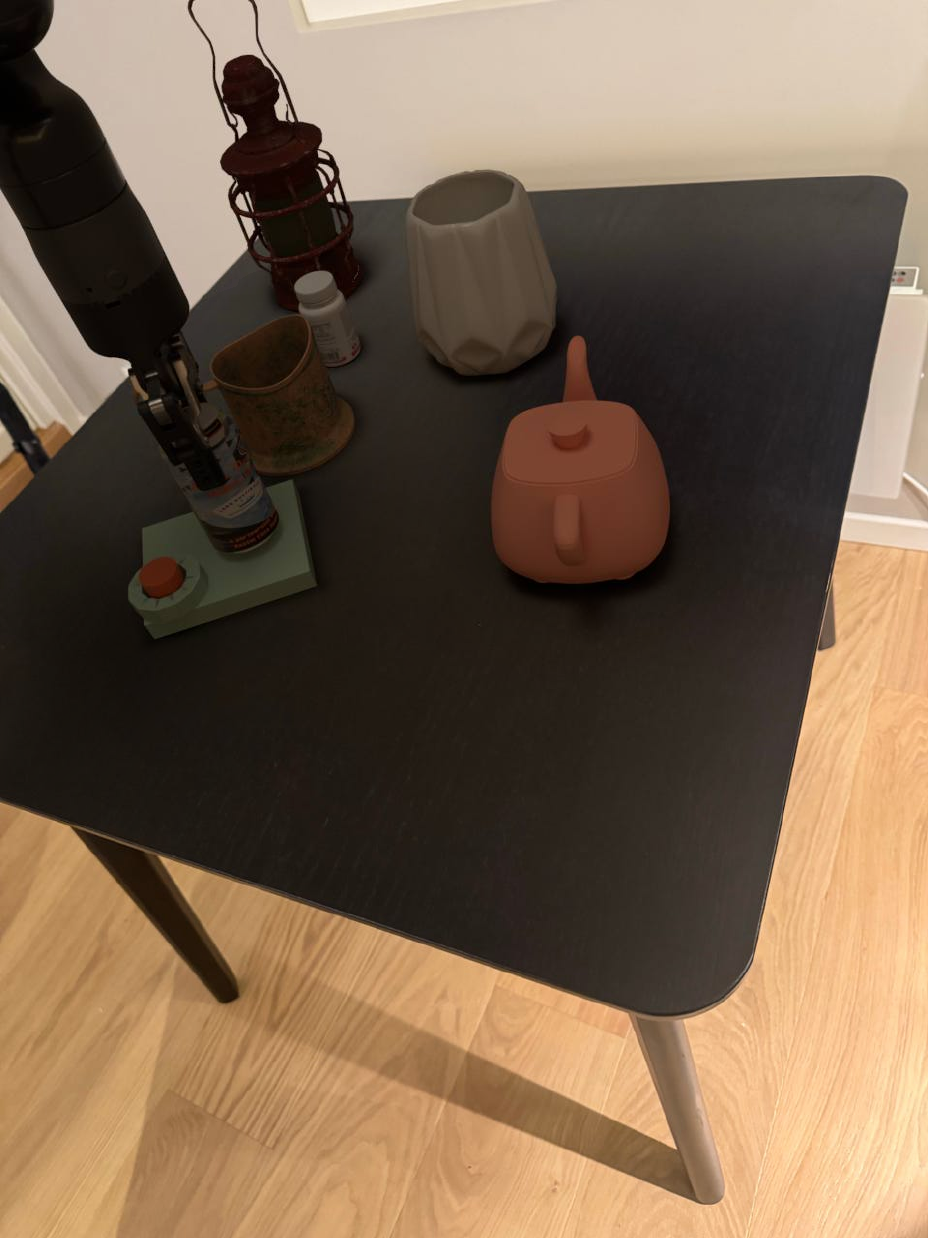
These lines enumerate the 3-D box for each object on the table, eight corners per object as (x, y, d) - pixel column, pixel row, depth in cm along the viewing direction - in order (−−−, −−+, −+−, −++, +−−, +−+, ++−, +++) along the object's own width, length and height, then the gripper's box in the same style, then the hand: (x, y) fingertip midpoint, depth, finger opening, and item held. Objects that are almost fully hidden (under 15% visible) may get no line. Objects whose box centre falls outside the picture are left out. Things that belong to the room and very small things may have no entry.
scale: (148, 646, 76) (128, 619, 73) (145, 544, 84) (127, 517, 81) (318, 590, 76) (304, 561, 73) (299, 494, 84) (286, 465, 82)
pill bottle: (345, 334, 100) (320, 262, 93) (370, 350, 97) (346, 276, 90) (309, 357, 98) (281, 285, 92) (333, 373, 95) (306, 300, 89)
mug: (170, 457, 92) (110, 355, 83) (330, 381, 94) (289, 274, 85) (201, 523, 84) (139, 419, 75) (373, 439, 87) (334, 328, 78)
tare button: (147, 604, 74) (138, 591, 73) (146, 576, 77) (138, 563, 75) (185, 591, 74) (177, 578, 73) (183, 564, 77) (175, 551, 75)
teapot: (669, 444, 78) (663, 319, 69) (673, 631, 66) (667, 508, 57) (513, 456, 82) (488, 337, 72) (489, 636, 69) (455, 520, 60)
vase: (556, 383, 87) (533, 229, 75) (412, 393, 90) (369, 247, 79) (570, 297, 95) (551, 148, 84) (437, 309, 99) (402, 167, 88)
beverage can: (237, 575, 76) (174, 464, 67) (196, 533, 81) (132, 424, 72) (299, 532, 78) (246, 419, 69) (256, 494, 82) (201, 382, 73)
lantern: (249, 313, 106) (125, 21, 84) (300, 254, 113) (197, -31, 90) (340, 319, 102) (234, 11, 79) (388, 257, 108) (302, -44, 86)
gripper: (59, 235, 66) (163, 422, 79) (47, 340, 57) (169, 534, 69) (160, 203, 66) (248, 395, 79) (165, 302, 57) (265, 502, 69)
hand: (210, 459), depth 74 cm, fingers closed on beverage can, 6 cm apart
